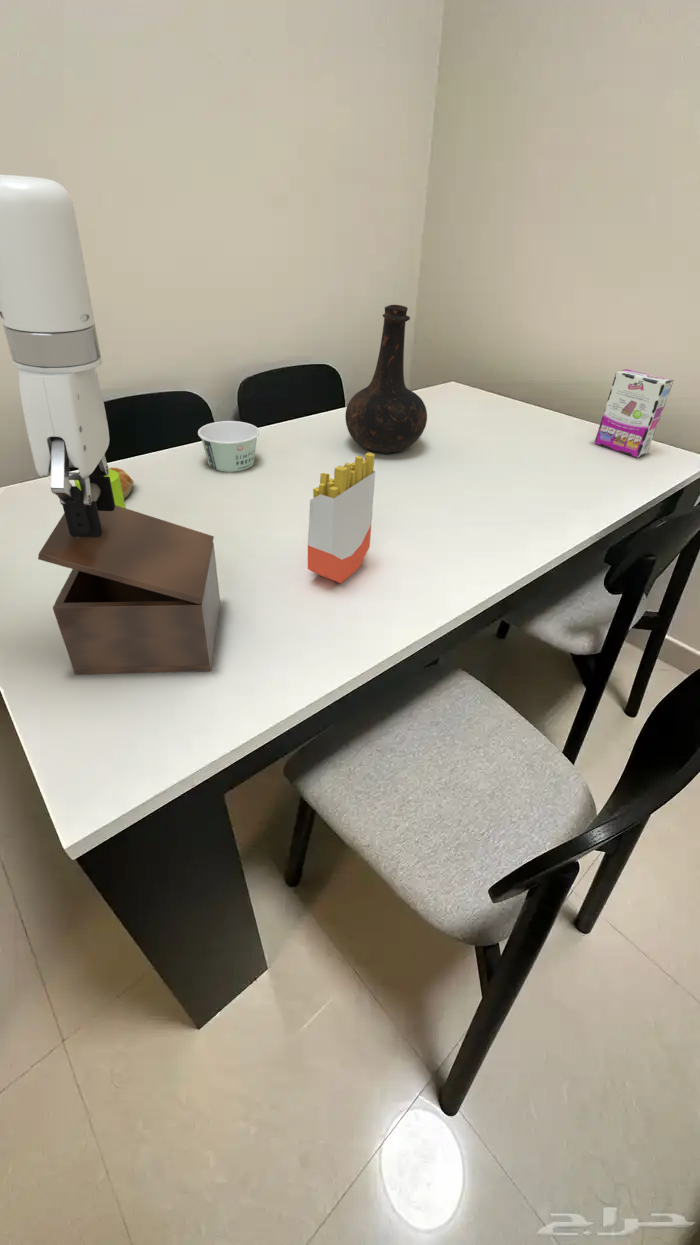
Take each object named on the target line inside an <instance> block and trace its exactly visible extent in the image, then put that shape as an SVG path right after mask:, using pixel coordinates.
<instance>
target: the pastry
mask: <svg viewBox="0 0 700 1245" xmlns="http://www.w3.org/2000/svg"><path fill="white" fill-rule="evenodd" d="M108 468H109V469H112V470H114V471H116V472H118V474H119V478H120V483H121V487H122V492H123V497H124V500H125V499H127V497H128V496H129V495H130V493H131V492H132V490H133V488H132V487H133V486H134V480H133V478H132V477H130V475H129V474H128V473H127V472H126V471H125V470H124V469H122V468H119V467H108Z"/></svg>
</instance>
